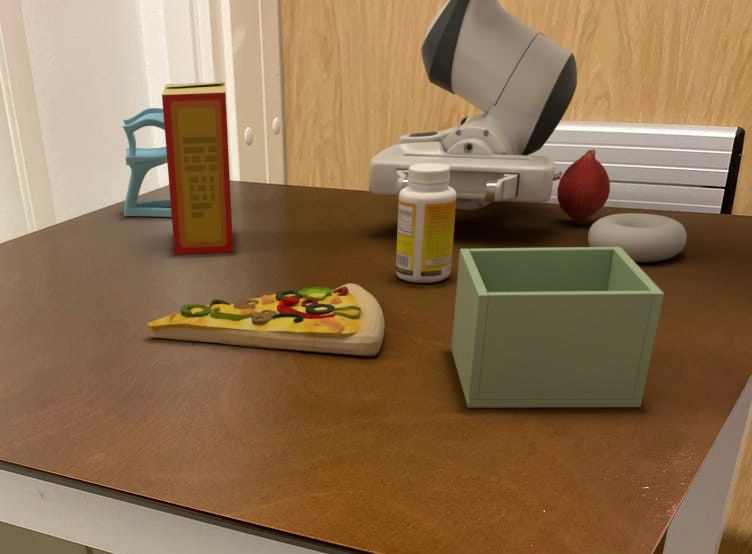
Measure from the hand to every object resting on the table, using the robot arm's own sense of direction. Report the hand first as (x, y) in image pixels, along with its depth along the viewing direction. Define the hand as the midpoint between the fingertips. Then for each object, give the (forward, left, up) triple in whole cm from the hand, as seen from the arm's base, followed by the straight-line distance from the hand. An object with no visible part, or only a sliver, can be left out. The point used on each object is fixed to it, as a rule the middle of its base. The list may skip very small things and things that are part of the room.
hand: (447, 191), depth 102 cm
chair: (+35, -22, -7) cm, 42 cm away
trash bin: (-4, +37, -6) cm, 38 cm away
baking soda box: (+27, -6, -7) cm, 28 cm away
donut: (-20, +1, -7) cm, 21 cm away
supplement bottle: (+3, +9, -7) cm, 12 cm away
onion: (-17, -13, -7) cm, 22 cm away
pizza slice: (+18, +26, -7) cm, 32 cm away
